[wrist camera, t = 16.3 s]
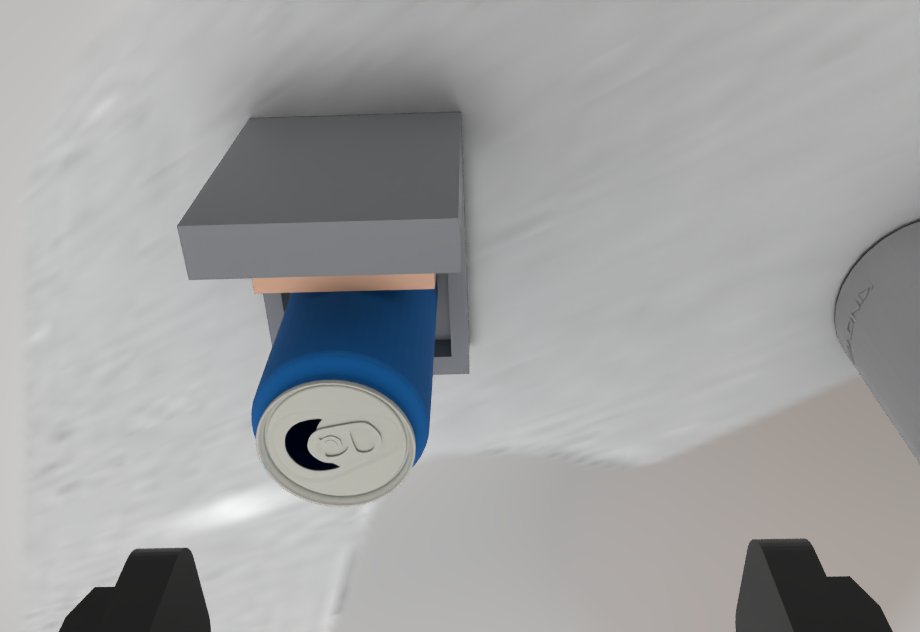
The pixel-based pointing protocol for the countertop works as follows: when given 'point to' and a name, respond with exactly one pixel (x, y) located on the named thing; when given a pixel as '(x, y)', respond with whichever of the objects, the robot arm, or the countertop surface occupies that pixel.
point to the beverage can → (347, 393)
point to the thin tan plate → (344, 283)
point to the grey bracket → (340, 210)
